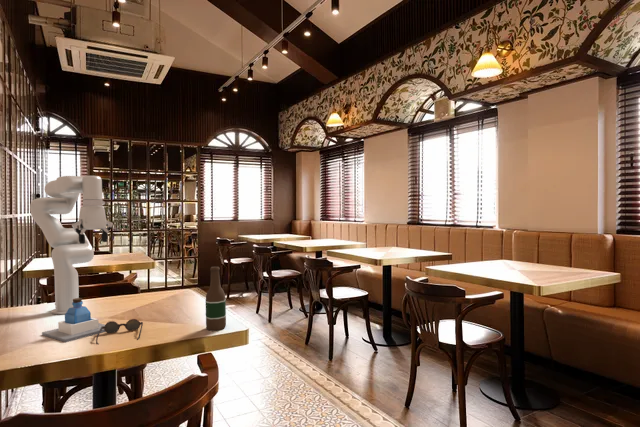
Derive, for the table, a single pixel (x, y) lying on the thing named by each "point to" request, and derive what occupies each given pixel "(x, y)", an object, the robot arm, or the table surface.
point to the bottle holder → (74, 330)
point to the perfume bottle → (77, 312)
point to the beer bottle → (215, 303)
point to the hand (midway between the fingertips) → (93, 242)
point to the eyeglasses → (114, 326)
